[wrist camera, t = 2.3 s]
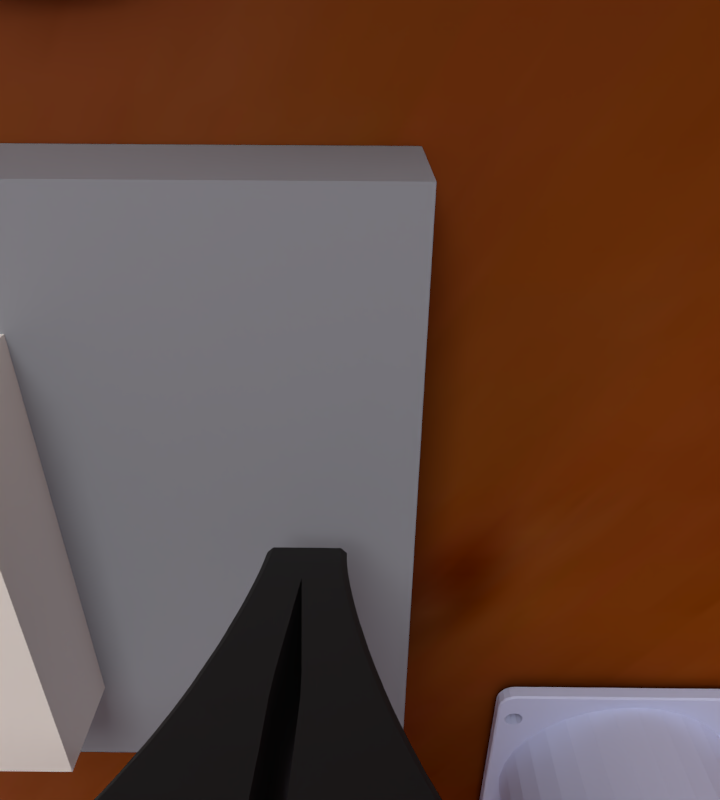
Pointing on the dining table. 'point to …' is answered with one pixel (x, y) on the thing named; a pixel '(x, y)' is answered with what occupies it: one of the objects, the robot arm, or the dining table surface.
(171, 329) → the block
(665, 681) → the dining table surface
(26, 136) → the dining table surface
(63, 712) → the tile
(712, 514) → the dining table surface
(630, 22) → the dining table surface
